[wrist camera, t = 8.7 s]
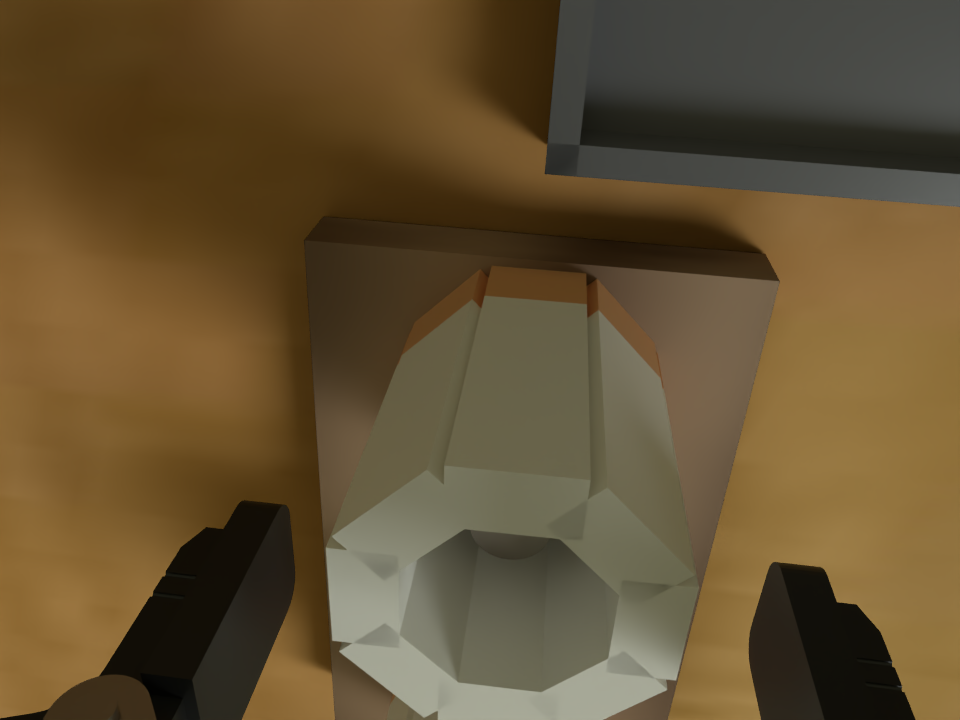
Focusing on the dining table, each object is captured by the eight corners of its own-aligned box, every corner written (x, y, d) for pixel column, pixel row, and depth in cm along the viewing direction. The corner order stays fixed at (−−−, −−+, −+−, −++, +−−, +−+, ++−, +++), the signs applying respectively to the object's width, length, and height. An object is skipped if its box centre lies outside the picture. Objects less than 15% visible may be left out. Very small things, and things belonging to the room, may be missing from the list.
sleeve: (670, 279, 17) (722, 493, 11) (634, 487, 20) (658, 750, 14) (410, 258, 17) (319, 453, 11) (410, 465, 20) (337, 710, 14)
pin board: (765, 254, 18) (851, 415, 12) (652, 718, 26) (673, 944, 20) (323, 216, 19) (212, 353, 13) (346, 680, 27) (284, 889, 21)
